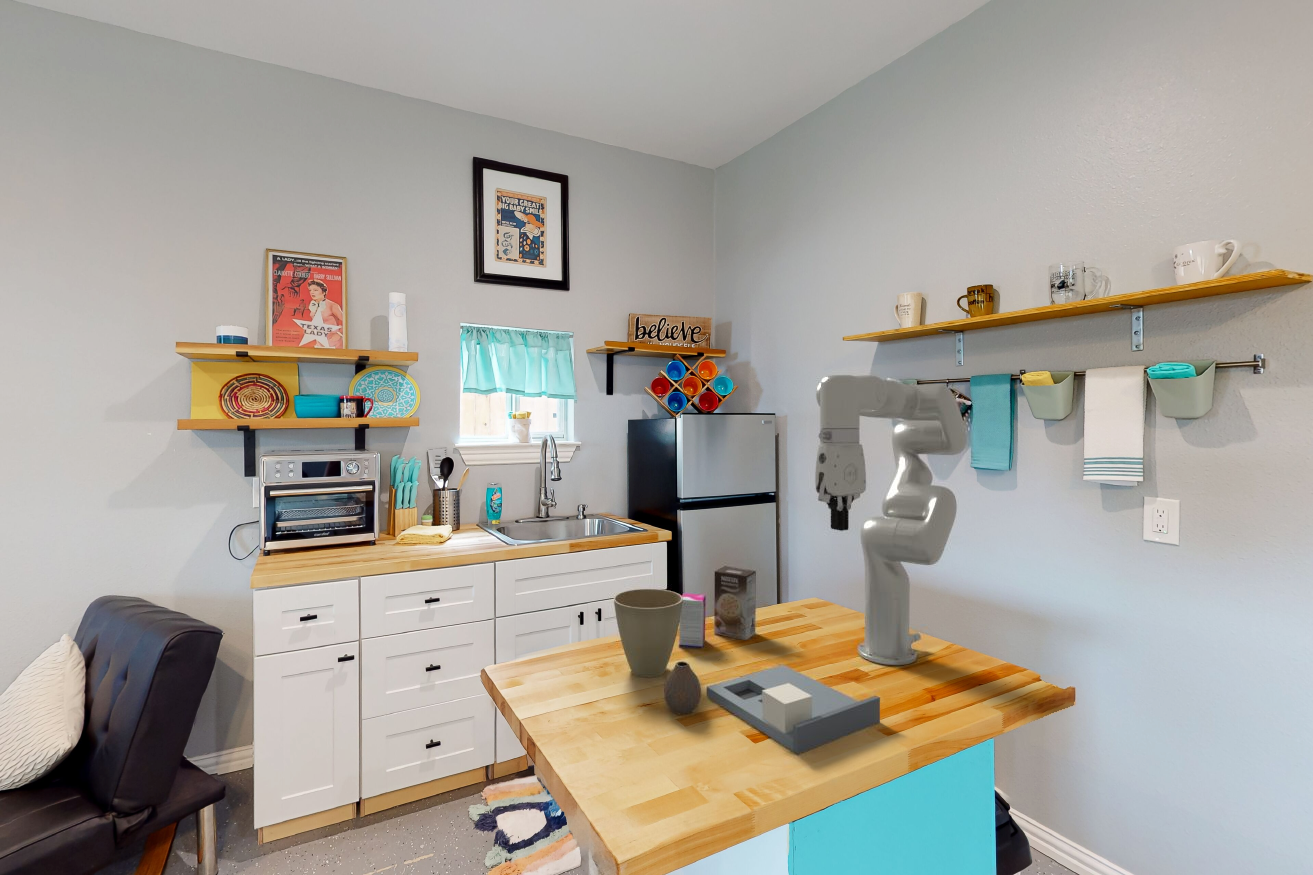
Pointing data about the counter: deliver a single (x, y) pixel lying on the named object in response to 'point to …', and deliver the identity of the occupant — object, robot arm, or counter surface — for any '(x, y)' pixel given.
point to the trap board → (828, 721)
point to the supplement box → (692, 621)
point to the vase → (682, 689)
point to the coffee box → (735, 602)
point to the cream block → (786, 706)
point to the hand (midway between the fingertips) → (839, 529)
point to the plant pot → (648, 628)
